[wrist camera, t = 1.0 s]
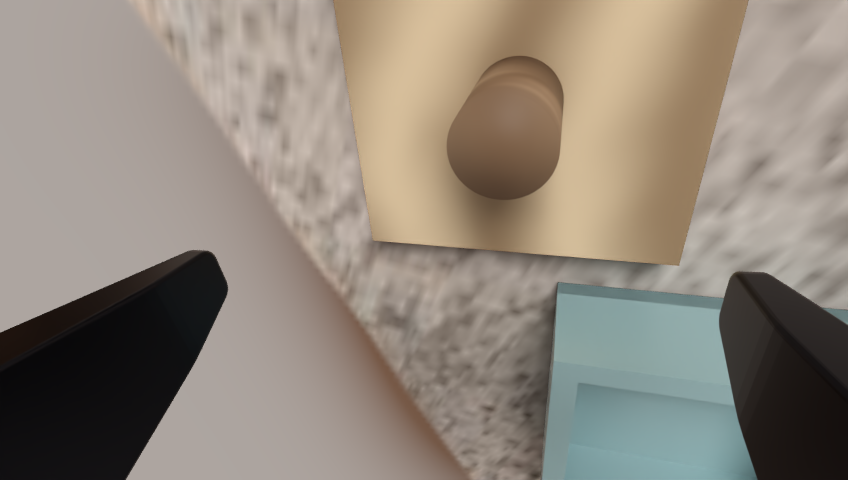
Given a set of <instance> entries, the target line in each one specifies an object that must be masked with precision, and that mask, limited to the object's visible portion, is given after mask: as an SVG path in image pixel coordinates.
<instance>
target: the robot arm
mask: <svg viewBox="0 0 848 480" xmlns="http://www.w3.org/2000/svg"><path fill="white" fill-rule="evenodd" d="M227 292H228V285H227V281H226V279H225V277H224V275H223V272H222V270H221V268H220V266H219V264H218V261H217V259H216V257H215V255H214V254H213V253H212V252H209V251H202V250H191V251H187V252H185V253H183V254H180V255H178V256H176V257H174V258H171V259H169V260H166V261H165V262H162V263H160V264H157V265H155V266H153V267H150V268H148V269H146V270H143V271H141V272H139V273H137V274H134V275H132V276H130V277H128V278H125V279H123V280H121V281H118V282H116V283H114V284H111V285H109V286H107V287H104V288H102V289H100V290H98V291H95V292H93V293H90V294H88V295H86V296H84V297H82V298H79V299H77V300H75V301H72V302H70V303H68V304H65V305H63V306H61V307H58V308H56V309H54V310H52V311H49V312H47V313H44V314H42V315H40V316H38V317H35V318H33V319H31V320H28V321H26V322H24V323H21V324H19V325H17V326H15V327H12V328H10V329H8V330H5V331H3V332H1V333H0V480H126V478H127V477H128V475H129V473H130V472H131V470H132V468H133V467H134V465H135V463H136V461H137V460H138V458H139V456H140V455H141V453H142V451H143V450H144V448H145V446H146V445H147V443H148V441H149V439H150V438H151V436H152V434H153V433H154V431H155V429H156V428H157V426H158V424H159V423H160V421H161V419H162V418H163V416H164V414H165V413H166V411H167V409H168V408H169V406H170V404H171V402H172V401H173V399H174V397H175V396H176V394H177V392H178V391H179V389H180V387H181V386H182V384H183V382H184V381H185V379H186V377H187V375H188V374H189V372H190V370H191V368H192V367H193V365H194V363H195V361H196V359H197V357H198V355H199V353H200V351H201V349H202V347H203V345H204V343H205V341H206V339H207V337H208V334H209V332H210V330H211V328H212V326H213V324H214V322H215V320H216V318H217V315H218V313H219V311H220V309H221V307H222V304H223V302H224V301H225V298H226V296H227ZM719 329H720V335H721V340H722V345H723V350H724V355H725V360H726V365H727V370H728V375H729V380H730V385H731V390H732V395H733V400H734V405H735V409H736V414H737V418H738V422H739V425H740V429H741V432H742V435H743V438H744V441H745V444H746V447H747V450H748V453H749V456H750V459H751V462H752V465H753V468H754V471H755V474H756V477H757V480H848V324H846V323H845V322H843V321H842V320H840V319H838V318H837V317H835V316H834V315H832V314H831V313H829V312H828V311H826V310H824V309H823V308H821V307H820V306H818V305H817V304H815V303H814V302H812V301H810V300H809V299H807V298H806V297H804V296H803V295H801V294H799V293H798V292H796V291H795V290H793V289H792V288H790V287H789V286H787V285H785V284H784V283H782V282H781V281H779V280H778V279H776V278H774V277H773V276H771V275H769V274H768V273H764V272H741V271H739V272H736V273H734V274H733V275H732V276H731V278H730V280H729V283H728V286H727V289H726V293H725V296H724V300H723V303H722V307H721V310H720V314H719Z"/></svg>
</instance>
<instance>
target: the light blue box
mask: <svg viewBox="0 0 848 480" xmlns="http://www.w3.org/2000/svg"><path fill="white" fill-rule="evenodd" d="M723 300H724V298H714V297H704V296H694V295H683V294H673V293H663V292H652V291H642V290H631V289H621V288H611V287H600V286H590V285H580V284H569V283H559V282H558V287H557V297H556V308H555V319H554V329H553V340H552V351H551V362H550V372H549V383H548V394H547V404H546V415H545V426H544V437H543V452H542V467H541V480H757V477H756V474H755V471H754V468H753V465H752V462H751V459H750V456H749V453H748V450H747V447H746V444H745V441H744V438H743V435H742V432H741V429H740V425H739V422H738V418H737V414H736V409H735V405H734V400H733V395H732V390H731V385H730V380H729V375H728V370H727V365H726V360H725V355H724V350H723V345H722V340H721V335H720V329H719V314H720V310H721V307H722V303H723ZM823 309H824V310H826V311H828V312H829V313H831V314H832V315H834V316H835V317H837V318H838V319H840V320H842V321H843V322H845V323H846V324H848V310H839V309H829V308H823Z"/></svg>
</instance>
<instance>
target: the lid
mask: <svg viewBox="0 0 848 480" xmlns="http://www.w3.org/2000/svg"><path fill="white" fill-rule="evenodd" d="M748 1H749V0H333V2H334V8H335V14H336V20H337V26H338V32H339V38H340V44H341V50H342V56H343V62H344V68H345V75H346V81H347V87H348V93H349V99H350V105H351V111H352V117H353V123H354V129H355V135H356V141H357V147H358V153H359V159H360V165H361V171H362V178H363V184H364V190H365V196H366V202H367V208H368V214H369V220H370V226H371V232H372V238H373V241H385V242H397V243H410V244H422V245H434V246H446V247H458V248H471V249H483V250H495V251H507V252H519V253H531V254H544V255H556V256H568V257H580V258H592V259H604V260H617V261H629V262H641V263H653V264H665V265H677V266H679V263H680V260H681V256H682V252H683V248H684V244H685V241H686V237H687V233H688V229H689V225H690V221H691V218H692V214H693V210H694V206H695V202H696V199H697V195H698V191H699V187H700V183H701V180H702V176H703V172H704V168H705V164H706V161H707V157H708V153H709V149H710V145H711V142H712V138H713V134H714V130H715V126H716V122H717V119H718V115H719V111H720V107H721V103H722V100H723V96H724V92H725V88H726V84H727V81H728V77H729V73H730V69H731V65H732V62H733V58H734V54H735V50H736V46H737V42H738V39H739V35H740V31H741V27H742V23H743V20H744V16H745V12H746V8H747V4H748Z"/></svg>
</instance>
